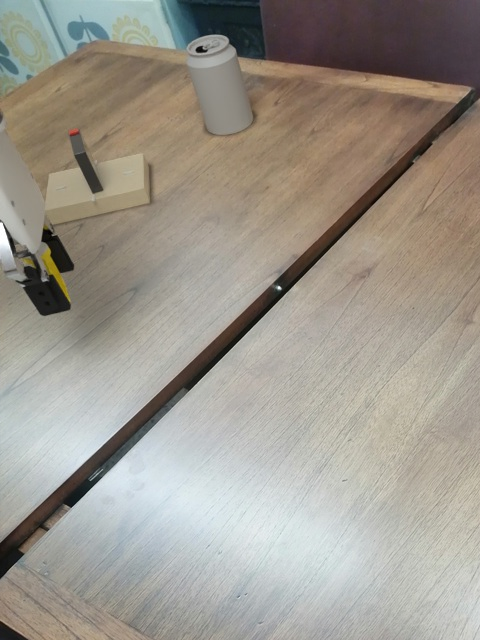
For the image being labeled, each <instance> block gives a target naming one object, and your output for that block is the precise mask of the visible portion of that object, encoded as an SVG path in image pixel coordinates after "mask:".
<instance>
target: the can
mask: <svg viewBox="0 0 480 640" xmlns="http://www.w3.org/2000/svg"><path fill="white" fill-rule="evenodd" d="M186 53H187V55H186V58H185V64H186V69H187V71H188V74H189V77H190V80H191V83H192V87H193V89H194V90H193V91H194V92H195V96H196V99H197V102H198V105H199V108H200V111H201V115H202V118H203V121H204V124H205V125H204V126H205V128H206V131H208V133H210V134H213V135H216V136H229V135H233V134H237V133H239V132H242V131H244V130H246V129H247V128H249V127H250V126H251V124H253V122H254V113H253V111H252V106H251V103H250V99H249V95H248V92H247V87H246V83H245V80H244V76H243V72H242V68H241V64H240V61H239V57H238V53H237V48H235V47H234V46H233V45H232V44H230V39H229V38H228V36H225V35H223V34H209V35H203V36H200V37H197V38H196V39H194V40H192V41H191V42H189V43H188V44H187V46H186Z"/></svg>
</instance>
